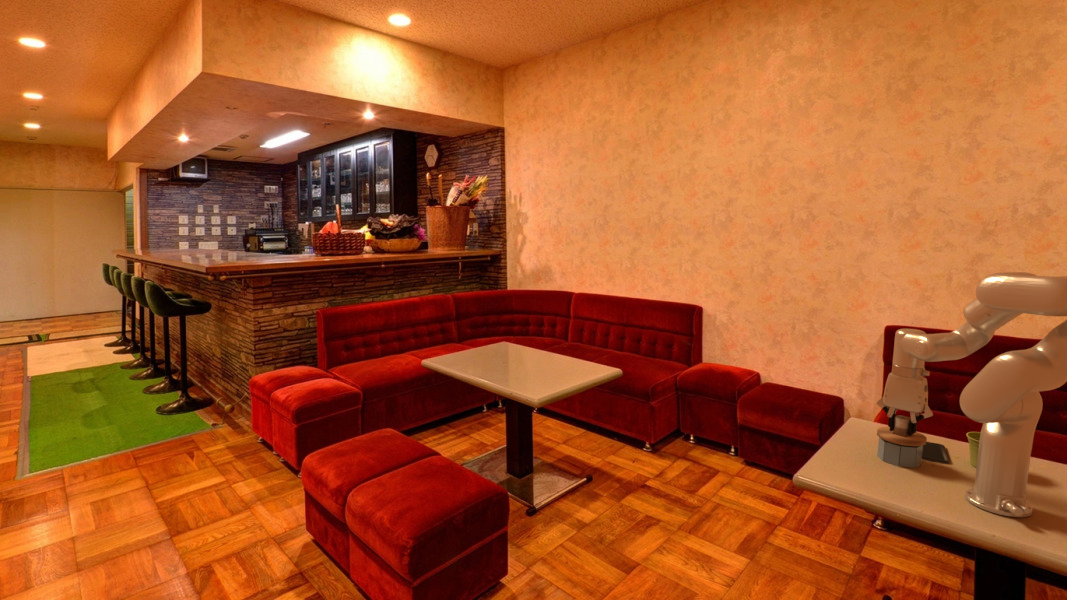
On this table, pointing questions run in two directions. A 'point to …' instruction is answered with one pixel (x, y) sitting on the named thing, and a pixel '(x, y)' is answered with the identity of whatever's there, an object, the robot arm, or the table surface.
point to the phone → (935, 453)
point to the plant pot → (973, 446)
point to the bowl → (899, 454)
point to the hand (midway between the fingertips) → (901, 431)
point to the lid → (901, 433)
